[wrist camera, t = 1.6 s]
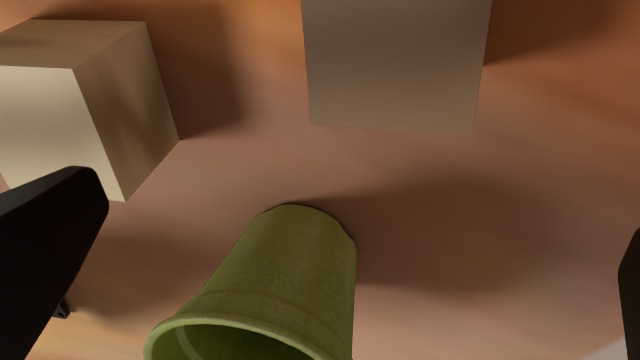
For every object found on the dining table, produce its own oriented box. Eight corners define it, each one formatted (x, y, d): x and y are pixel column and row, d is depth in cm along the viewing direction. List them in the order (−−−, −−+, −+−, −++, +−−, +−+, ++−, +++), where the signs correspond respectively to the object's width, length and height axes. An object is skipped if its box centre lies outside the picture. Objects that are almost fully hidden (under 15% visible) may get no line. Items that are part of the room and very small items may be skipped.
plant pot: (408, 202, 23) (383, 365, 16) (371, 317, 29) (342, 471, 22) (223, 156, 24) (128, 291, 17) (225, 276, 30) (155, 411, 23)
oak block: (180, 139, 24) (125, 202, 20) (79, 131, 25) (9, 188, 21) (146, 20, 20) (71, 68, 16) (30, 18, 22) (-64, 62, 18)
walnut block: (470, 67, 18) (471, 136, 14) (342, 62, 19) (311, 124, 15) (491, -80, 15) (499, -44, 11) (337, -76, 16) (297, -42, 12)
